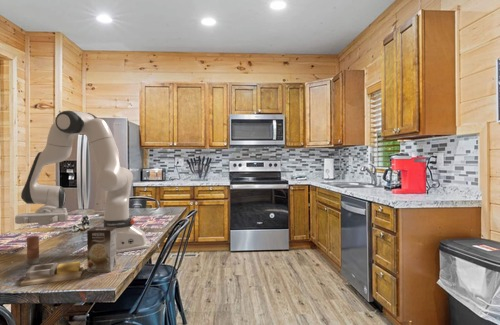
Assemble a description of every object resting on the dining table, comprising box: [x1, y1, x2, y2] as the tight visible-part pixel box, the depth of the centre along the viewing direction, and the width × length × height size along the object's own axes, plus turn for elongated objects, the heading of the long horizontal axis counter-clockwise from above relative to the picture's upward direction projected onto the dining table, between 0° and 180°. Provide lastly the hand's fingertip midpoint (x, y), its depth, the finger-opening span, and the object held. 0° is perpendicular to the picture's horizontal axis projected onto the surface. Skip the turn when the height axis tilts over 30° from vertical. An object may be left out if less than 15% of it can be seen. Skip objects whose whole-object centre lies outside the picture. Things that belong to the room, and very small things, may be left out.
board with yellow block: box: [20, 260, 85, 287], centre depth 119 cm, size 18×14×4 cm
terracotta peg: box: [26, 235, 40, 270], centre depth 128 cm, size 4×4×12 cm
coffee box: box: [86, 226, 117, 273], centre depth 125 cm, size 9×6×16 cm
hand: (38, 220), depth 139 cm, fingers open, 8 cm apart
